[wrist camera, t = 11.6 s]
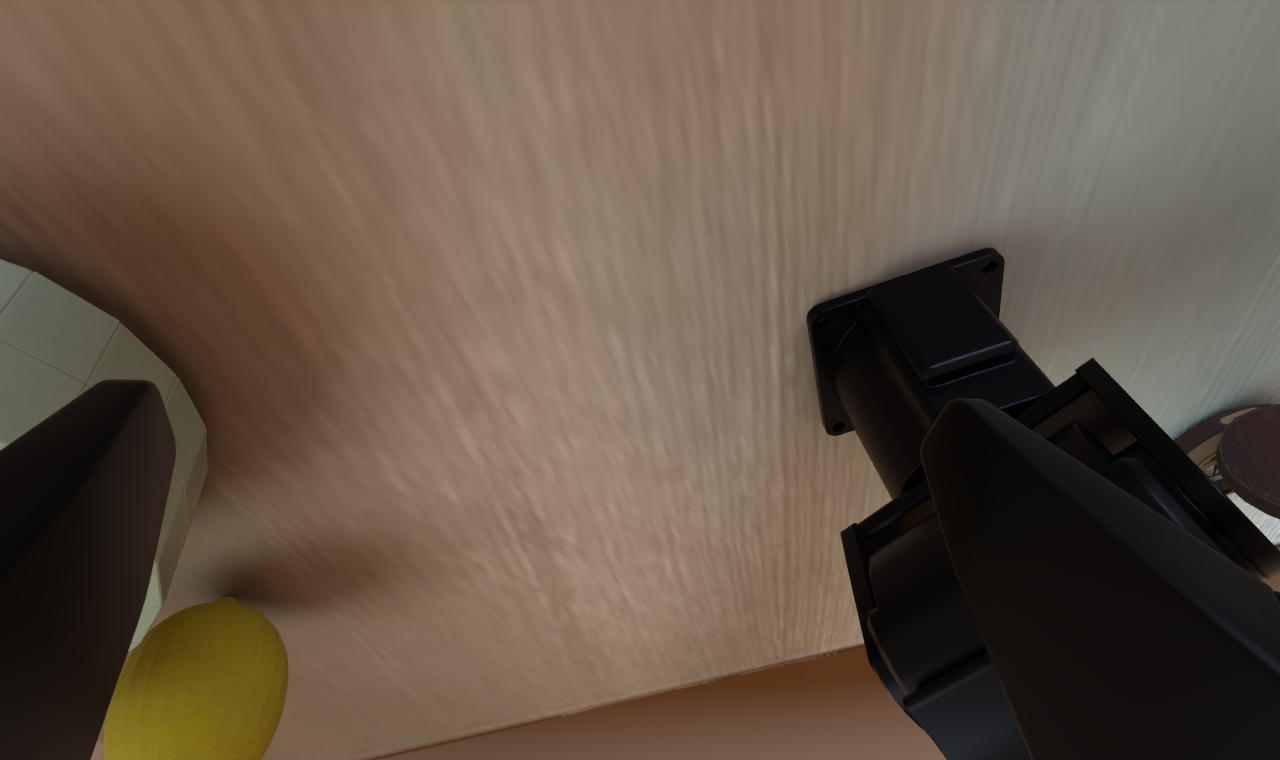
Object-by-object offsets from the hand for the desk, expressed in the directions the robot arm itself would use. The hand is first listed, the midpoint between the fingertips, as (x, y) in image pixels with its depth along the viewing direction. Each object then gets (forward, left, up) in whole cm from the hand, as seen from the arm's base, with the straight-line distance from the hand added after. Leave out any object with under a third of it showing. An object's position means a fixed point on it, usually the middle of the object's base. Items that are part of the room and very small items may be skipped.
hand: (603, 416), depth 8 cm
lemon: (-15, +19, -12) cm, 28 cm away
